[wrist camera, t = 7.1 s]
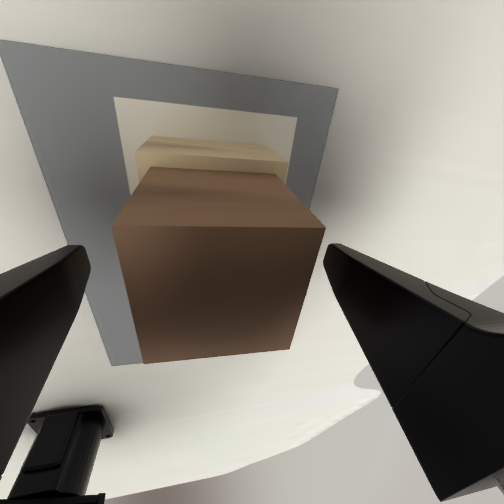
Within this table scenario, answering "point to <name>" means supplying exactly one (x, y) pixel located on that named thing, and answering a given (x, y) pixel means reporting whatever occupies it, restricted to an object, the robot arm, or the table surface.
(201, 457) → the table surface
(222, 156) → the oak base block
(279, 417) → the table surface
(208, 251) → the walnut cube
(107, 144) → the mat
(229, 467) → the table surface
